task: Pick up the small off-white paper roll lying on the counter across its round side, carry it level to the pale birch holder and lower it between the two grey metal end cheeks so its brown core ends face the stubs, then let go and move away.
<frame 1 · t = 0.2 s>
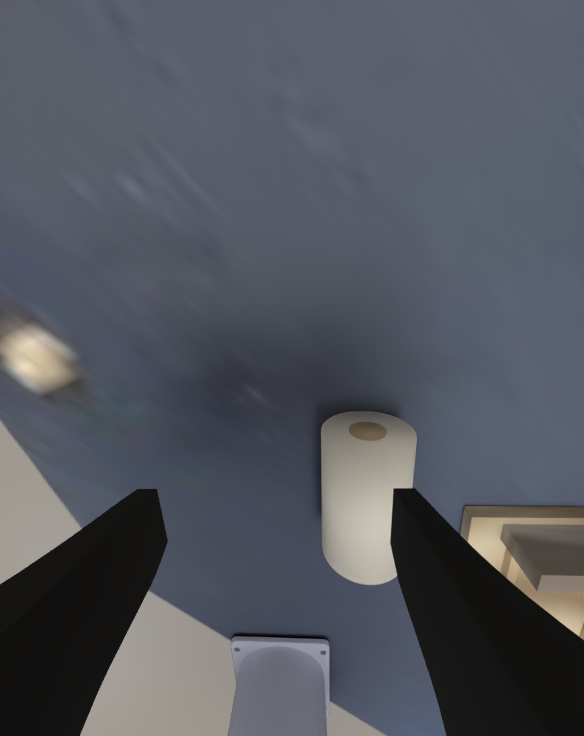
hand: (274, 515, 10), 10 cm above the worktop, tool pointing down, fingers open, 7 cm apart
paper roll: (359, 466, 21), on the worktop
roll holder: (537, 585, 23), on the worktop
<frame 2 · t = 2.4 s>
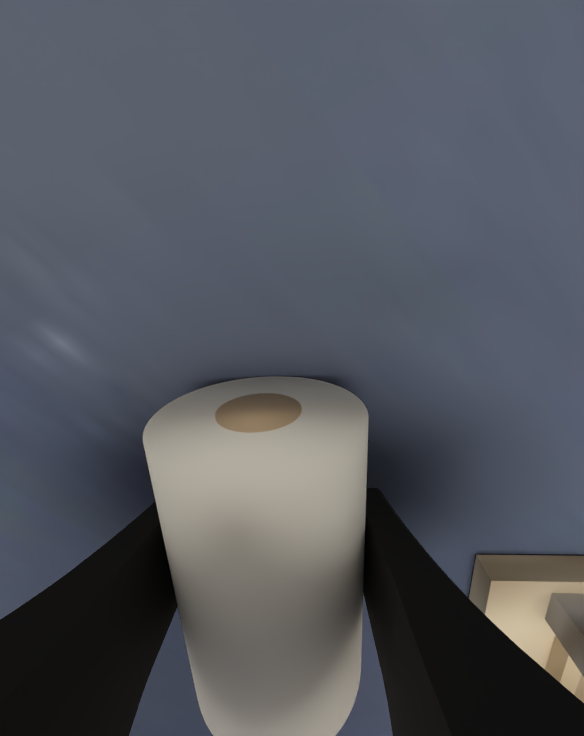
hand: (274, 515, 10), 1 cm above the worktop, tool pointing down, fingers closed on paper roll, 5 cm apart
paper roll: (278, 485, 11), on the worktop, touching gripper
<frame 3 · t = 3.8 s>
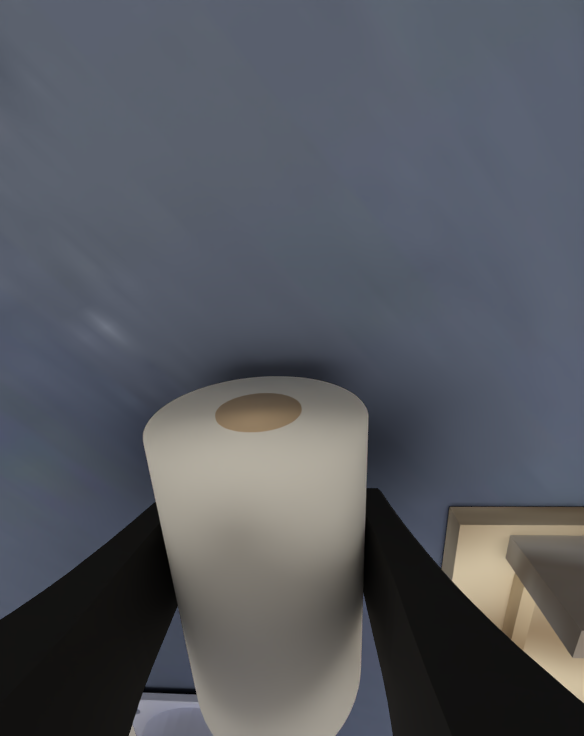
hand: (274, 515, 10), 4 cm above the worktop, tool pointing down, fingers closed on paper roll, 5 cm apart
paper roll: (278, 484, 11), point 2 cm above the worktop, touching gripper
roll holder: (561, 624, 15), on the worktop
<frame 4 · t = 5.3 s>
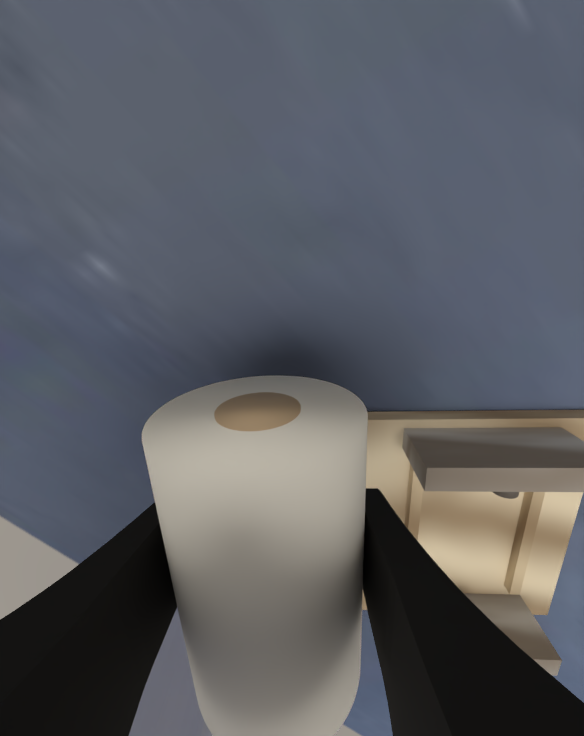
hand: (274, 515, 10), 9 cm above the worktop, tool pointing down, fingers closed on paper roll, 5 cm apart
paper roll: (277, 484, 11), point 7 cm above the worktop, touching gripper
roll holder: (457, 513, 20), on the worktop
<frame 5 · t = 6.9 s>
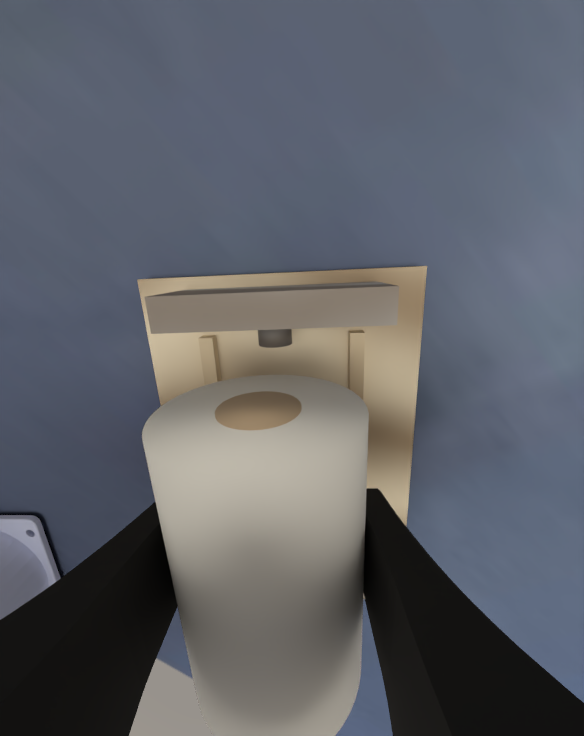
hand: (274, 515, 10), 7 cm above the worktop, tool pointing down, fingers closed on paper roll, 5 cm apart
paper roll: (278, 483, 11), point 5 cm above the worktop, touching gripper
roll holder: (287, 416, 16), on the worktop
when the fingers open (4 cm above the worktop, at t = 8.4 s): paper roll drops 1 cm, resting on roll holder.
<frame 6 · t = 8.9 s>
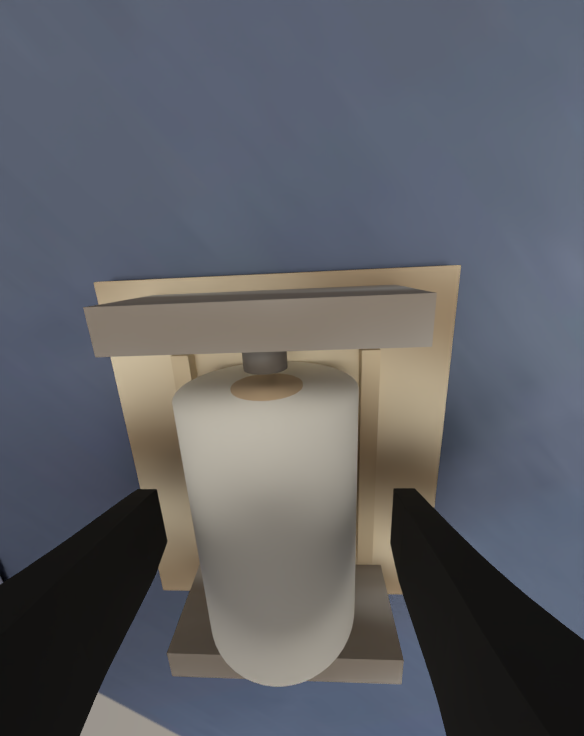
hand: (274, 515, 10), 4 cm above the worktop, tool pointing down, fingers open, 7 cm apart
paper roll: (281, 459, 12), point 1 cm above the worktop, touching roll holder
roll holder: (284, 446, 13), on the worktop
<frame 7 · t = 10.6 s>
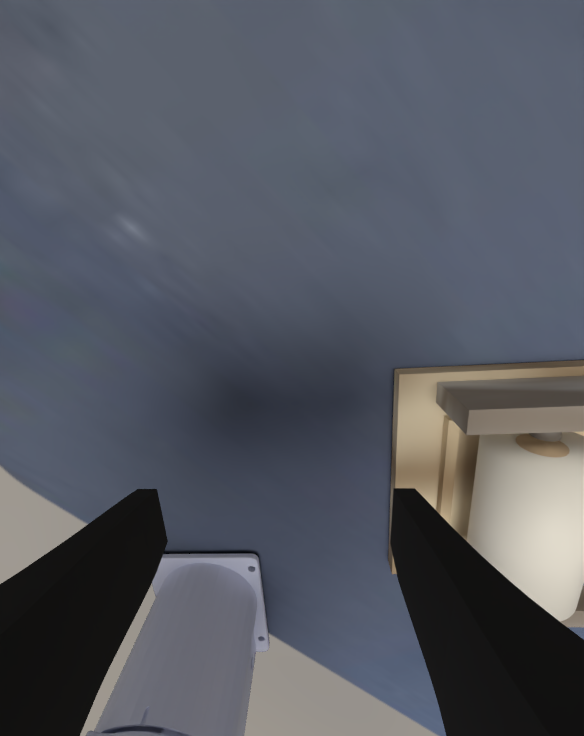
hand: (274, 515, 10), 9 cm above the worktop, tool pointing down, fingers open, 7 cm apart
paper roll: (499, 482, 18), point 1 cm above the worktop, touching roll holder
roll holder: (490, 472, 19), on the worktop
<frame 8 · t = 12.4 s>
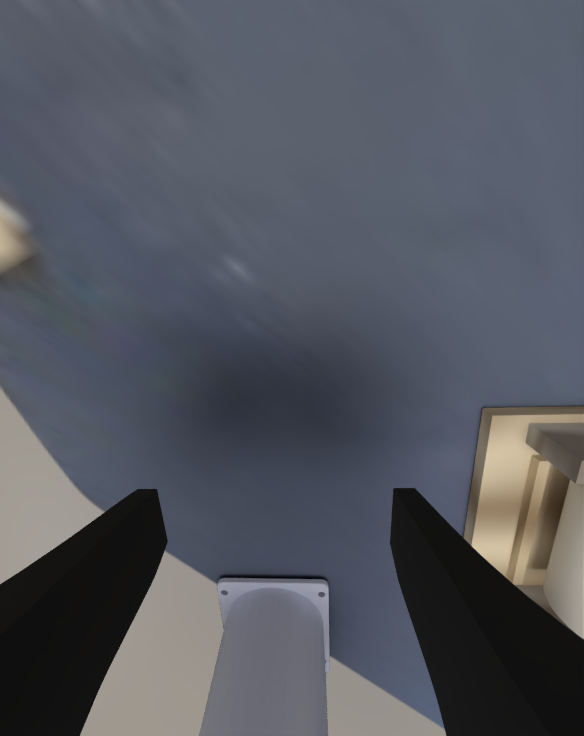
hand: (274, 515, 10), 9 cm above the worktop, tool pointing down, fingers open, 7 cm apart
paper roll: (578, 519, 19), point 1 cm above the worktop, touching roll holder
roll holder: (566, 507, 20), on the worktop
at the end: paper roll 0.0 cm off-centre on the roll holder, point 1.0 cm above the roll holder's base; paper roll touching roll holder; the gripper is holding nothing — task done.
